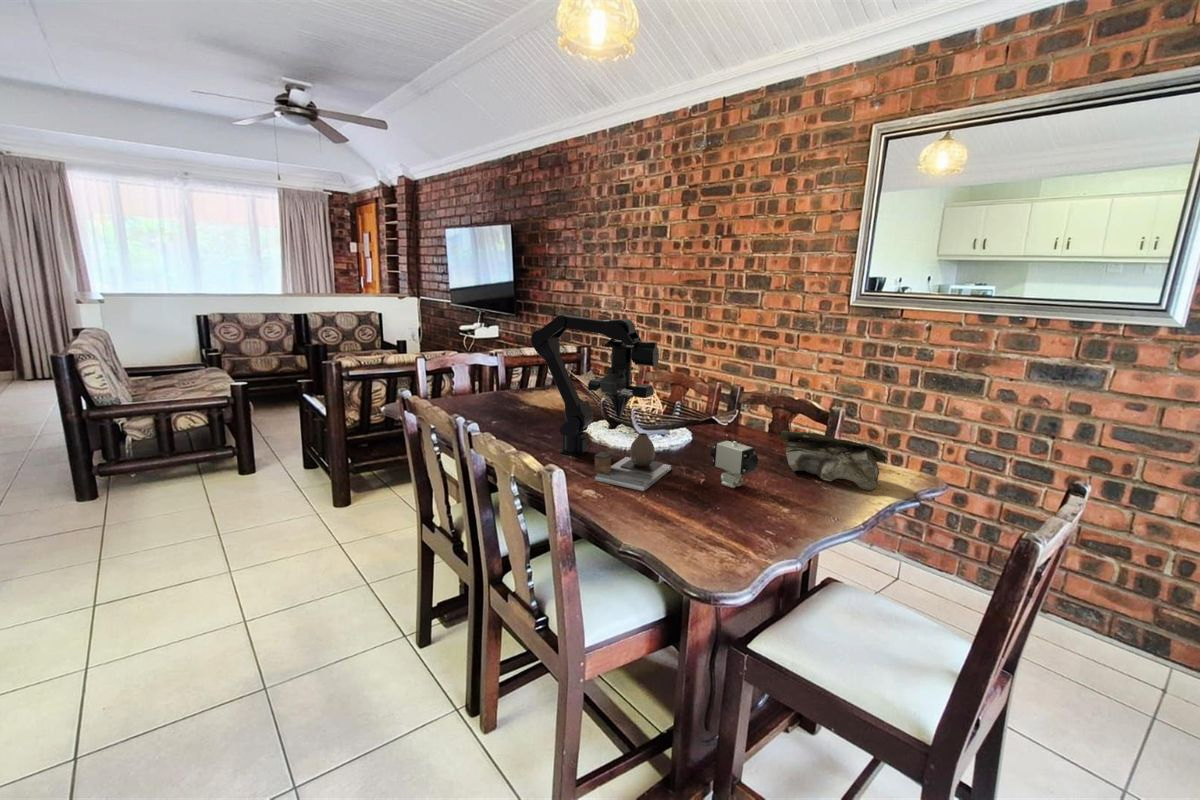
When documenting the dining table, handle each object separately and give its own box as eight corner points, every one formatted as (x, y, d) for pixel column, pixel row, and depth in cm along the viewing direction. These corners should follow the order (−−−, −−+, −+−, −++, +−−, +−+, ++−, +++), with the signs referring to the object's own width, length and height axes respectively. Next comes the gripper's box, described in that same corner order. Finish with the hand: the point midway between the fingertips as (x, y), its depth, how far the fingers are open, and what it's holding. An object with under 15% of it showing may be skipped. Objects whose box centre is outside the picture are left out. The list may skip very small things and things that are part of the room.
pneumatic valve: (745, 494, 136) (749, 448, 133) (707, 481, 144) (710, 437, 141) (757, 489, 139) (761, 444, 137) (719, 476, 148) (723, 434, 145)
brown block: (594, 473, 143) (594, 455, 142) (600, 469, 146) (601, 451, 145) (604, 476, 142) (605, 457, 141) (611, 472, 145) (611, 453, 144)
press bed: (595, 480, 142) (595, 472, 141) (626, 460, 158) (626, 453, 158) (643, 491, 136) (644, 483, 135) (671, 469, 152) (671, 462, 151)
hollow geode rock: (775, 481, 158) (763, 454, 148) (788, 445, 164) (778, 417, 154) (879, 505, 141) (874, 476, 131) (891, 464, 146) (886, 433, 136)
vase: (654, 469, 148) (656, 438, 146) (629, 468, 148) (630, 437, 146) (653, 460, 154) (654, 431, 152) (629, 459, 154) (630, 430, 153)
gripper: (578, 363, 151) (576, 417, 154) (638, 370, 142) (635, 428, 145) (598, 359, 160) (596, 410, 164) (655, 365, 151) (652, 419, 155)
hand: (618, 416), depth 157 cm, fingers closed
